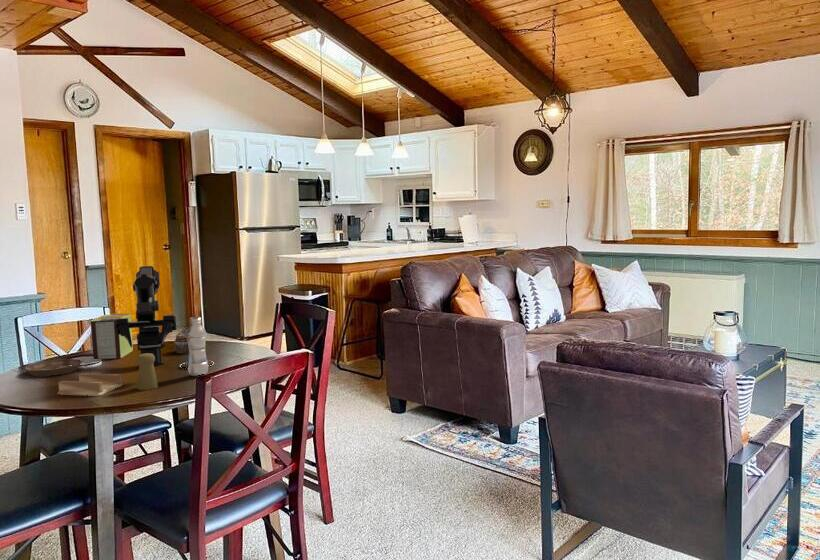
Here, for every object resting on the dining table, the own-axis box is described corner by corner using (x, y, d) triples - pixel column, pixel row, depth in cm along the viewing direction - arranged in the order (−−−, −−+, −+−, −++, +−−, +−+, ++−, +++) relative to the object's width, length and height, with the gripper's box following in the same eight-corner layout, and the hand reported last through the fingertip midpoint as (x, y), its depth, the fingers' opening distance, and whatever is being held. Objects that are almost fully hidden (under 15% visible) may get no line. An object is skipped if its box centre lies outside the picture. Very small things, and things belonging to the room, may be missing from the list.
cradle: (84, 384, 201) (83, 372, 201) (123, 385, 199) (122, 373, 198) (57, 394, 189) (56, 382, 189) (98, 395, 187) (97, 383, 187)
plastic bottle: (212, 373, 211) (209, 316, 209) (200, 378, 205) (196, 319, 203) (197, 372, 214) (194, 315, 212) (184, 377, 207) (180, 319, 205)
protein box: (133, 350, 253) (130, 313, 251) (121, 358, 238) (118, 319, 236) (106, 351, 251) (104, 314, 250) (92, 360, 236) (89, 320, 235)
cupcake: (181, 349, 254) (179, 325, 252) (203, 349, 253) (202, 325, 251) (170, 354, 244) (168, 329, 243) (193, 354, 243) (192, 329, 242)
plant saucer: (29, 369, 224) (28, 361, 223) (84, 364, 231) (83, 356, 231) (21, 381, 208) (20, 372, 207) (80, 374, 215) (79, 366, 215)
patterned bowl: (220, 363, 228) (220, 349, 228) (201, 371, 217) (200, 356, 216) (193, 361, 232) (192, 348, 231) (172, 369, 220) (171, 355, 220)
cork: (150, 390, 192) (148, 356, 191) (133, 389, 193) (131, 355, 192) (162, 385, 198) (160, 351, 197) (145, 384, 199) (143, 351, 198)
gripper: (113, 294, 201) (112, 333, 191) (174, 291, 207) (175, 328, 198) (117, 315, 209) (116, 353, 199) (175, 311, 215) (177, 347, 206)
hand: (146, 345), depth 200 cm, fingers open, 9 cm apart
